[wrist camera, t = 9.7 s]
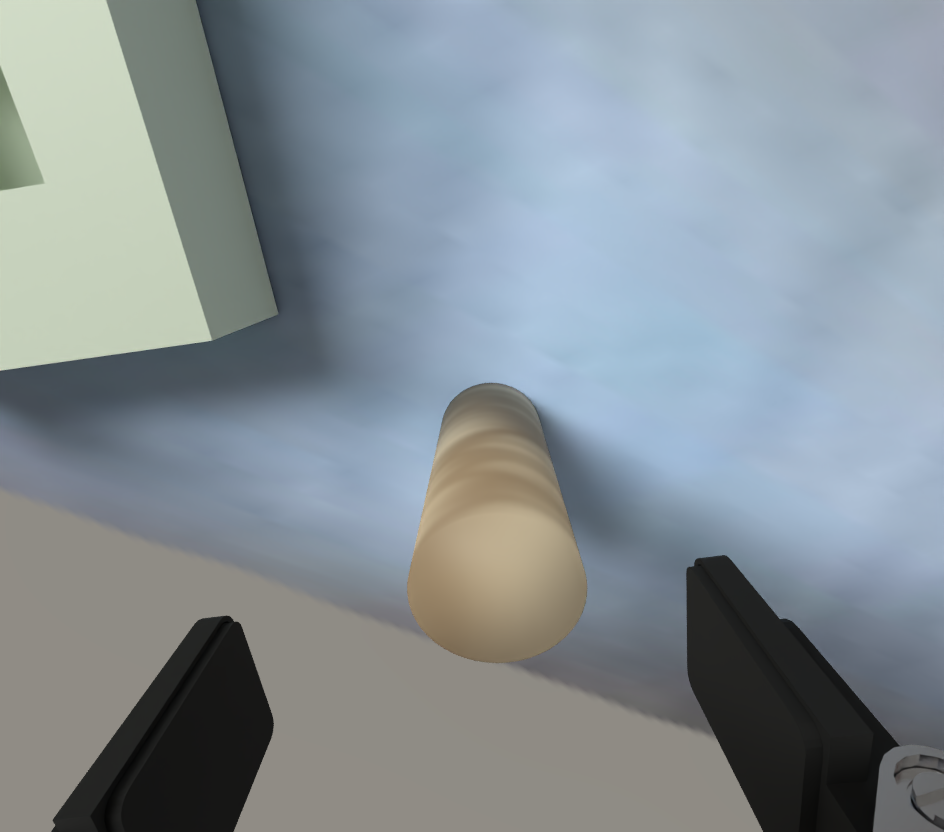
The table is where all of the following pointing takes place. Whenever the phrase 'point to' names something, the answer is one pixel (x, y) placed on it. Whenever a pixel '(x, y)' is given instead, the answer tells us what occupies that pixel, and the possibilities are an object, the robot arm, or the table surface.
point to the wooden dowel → (495, 535)
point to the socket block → (118, 185)
